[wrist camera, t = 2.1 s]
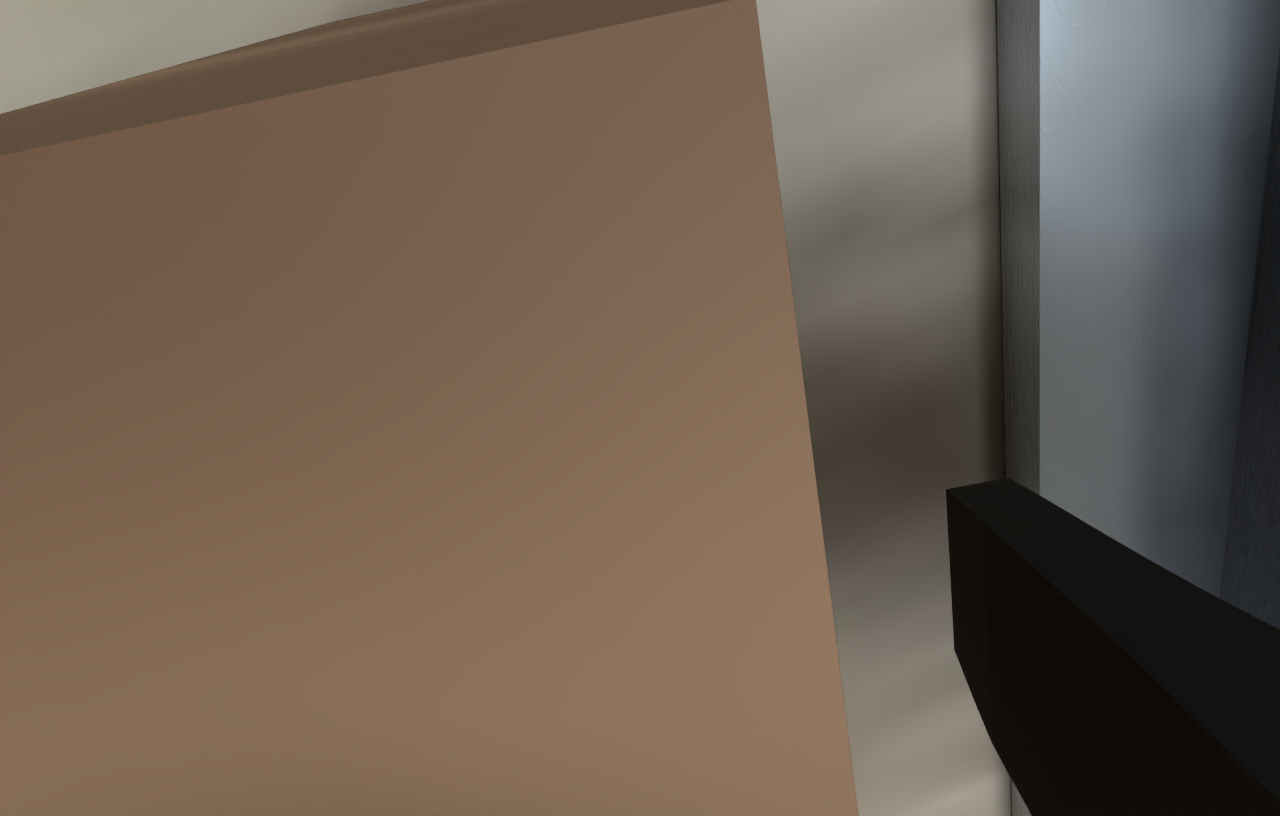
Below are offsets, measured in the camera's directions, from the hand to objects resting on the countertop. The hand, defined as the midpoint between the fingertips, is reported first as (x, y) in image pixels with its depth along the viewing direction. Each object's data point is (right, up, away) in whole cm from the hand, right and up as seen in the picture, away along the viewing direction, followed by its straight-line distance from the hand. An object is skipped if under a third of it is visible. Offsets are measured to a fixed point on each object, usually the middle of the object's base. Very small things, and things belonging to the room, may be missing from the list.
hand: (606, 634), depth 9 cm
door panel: (0, +1, +2) cm, 2 cm away
